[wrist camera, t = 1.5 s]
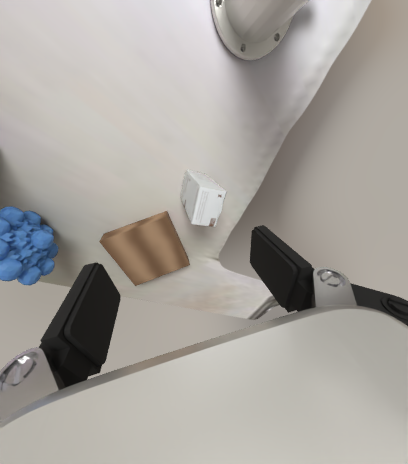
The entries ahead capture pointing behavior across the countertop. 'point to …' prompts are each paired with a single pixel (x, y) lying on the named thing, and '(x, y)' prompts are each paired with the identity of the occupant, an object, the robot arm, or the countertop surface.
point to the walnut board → (146, 248)
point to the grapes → (25, 246)
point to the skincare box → (202, 198)
